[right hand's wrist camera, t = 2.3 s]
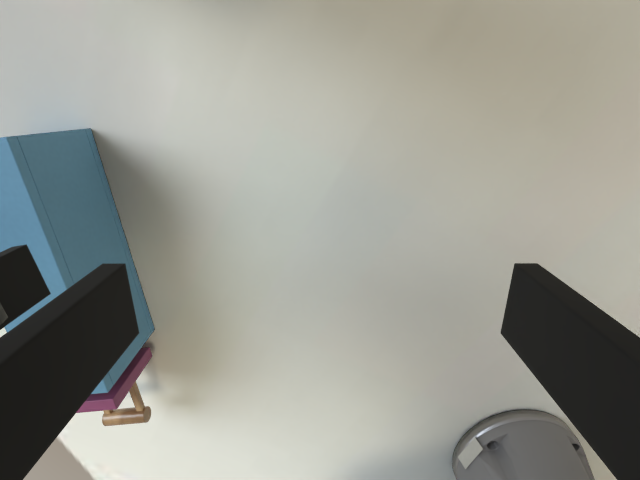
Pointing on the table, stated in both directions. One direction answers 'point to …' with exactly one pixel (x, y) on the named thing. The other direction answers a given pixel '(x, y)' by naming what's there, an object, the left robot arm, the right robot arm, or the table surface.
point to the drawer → (122, 396)
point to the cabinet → (65, 220)
